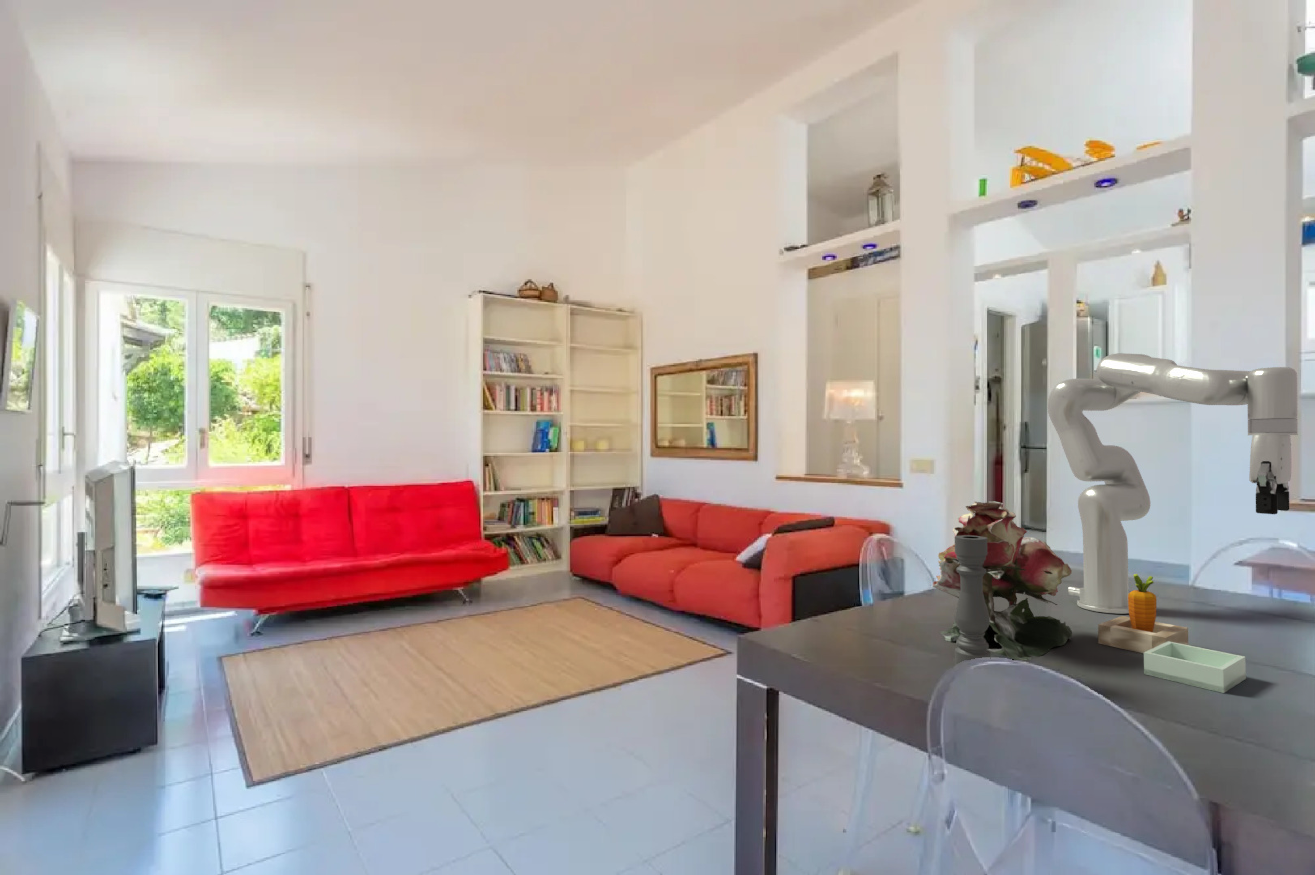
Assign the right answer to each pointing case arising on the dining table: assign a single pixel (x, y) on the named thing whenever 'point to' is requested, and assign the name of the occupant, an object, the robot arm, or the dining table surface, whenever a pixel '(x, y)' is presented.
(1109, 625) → the wooden stand
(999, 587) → the rose bouquet
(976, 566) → the candle holder
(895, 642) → the dining table surface
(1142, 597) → the carrot
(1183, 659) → the tray
